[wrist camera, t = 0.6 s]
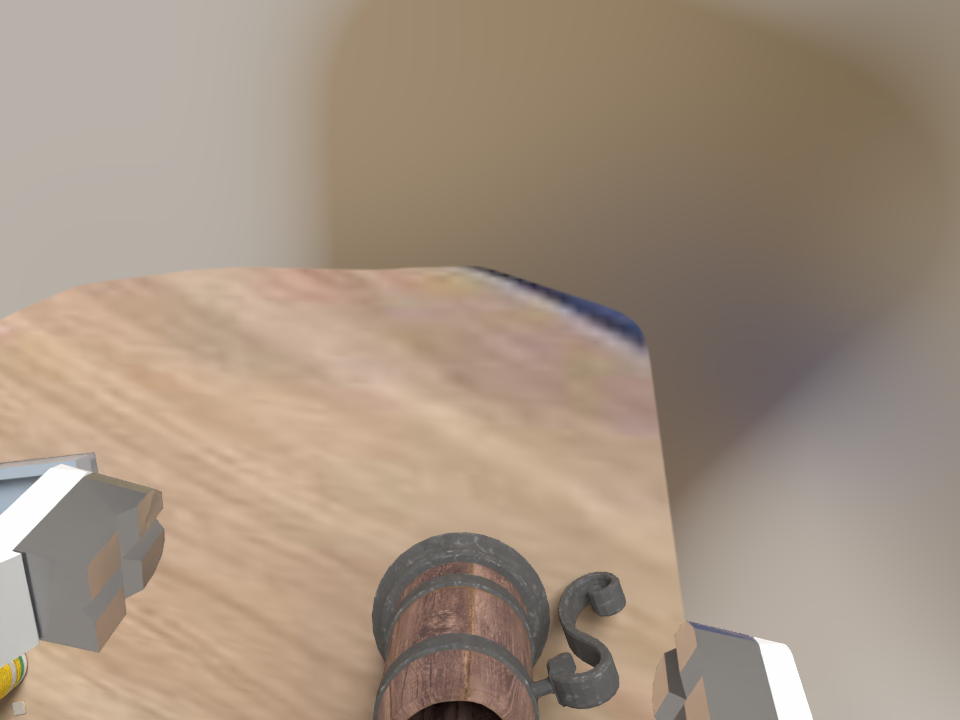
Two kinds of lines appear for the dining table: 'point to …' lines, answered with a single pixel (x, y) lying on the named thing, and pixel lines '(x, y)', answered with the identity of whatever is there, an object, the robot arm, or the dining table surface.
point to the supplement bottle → (12, 674)
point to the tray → (35, 474)
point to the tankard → (483, 634)
